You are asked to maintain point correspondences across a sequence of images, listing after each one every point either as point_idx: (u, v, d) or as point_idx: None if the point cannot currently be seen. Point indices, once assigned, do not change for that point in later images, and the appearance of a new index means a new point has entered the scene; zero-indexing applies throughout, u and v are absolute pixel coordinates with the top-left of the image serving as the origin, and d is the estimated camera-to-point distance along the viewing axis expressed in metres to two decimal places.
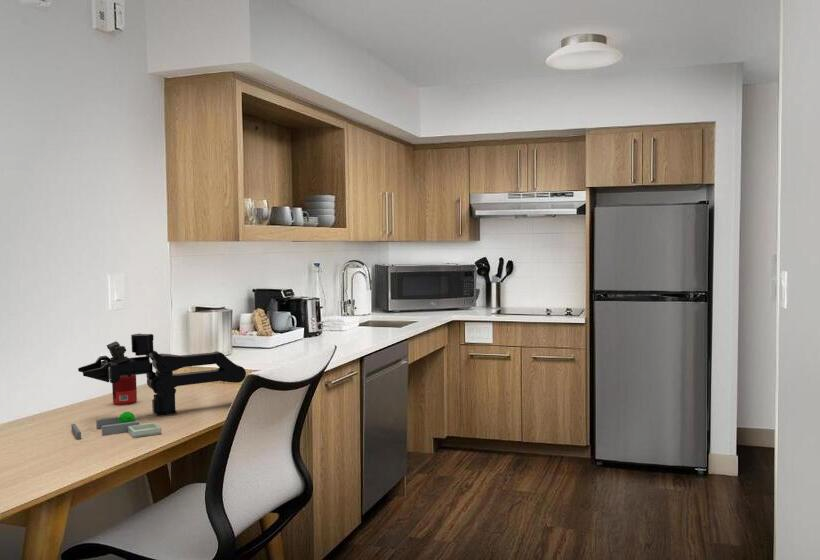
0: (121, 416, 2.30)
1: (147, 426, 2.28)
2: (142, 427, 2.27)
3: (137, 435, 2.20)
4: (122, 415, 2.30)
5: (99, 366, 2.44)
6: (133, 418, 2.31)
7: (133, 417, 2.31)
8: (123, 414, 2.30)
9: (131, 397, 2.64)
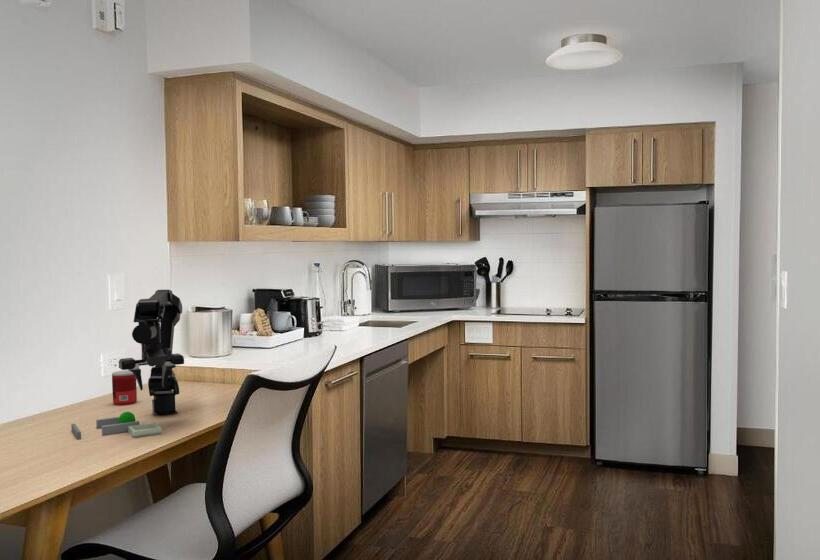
0: (121, 416, 2.30)
1: (147, 426, 2.28)
2: (142, 427, 2.27)
3: (137, 435, 2.20)
4: (122, 415, 2.30)
5: None
6: (133, 418, 2.31)
7: (133, 417, 2.31)
8: (123, 414, 2.30)
9: (131, 397, 2.64)
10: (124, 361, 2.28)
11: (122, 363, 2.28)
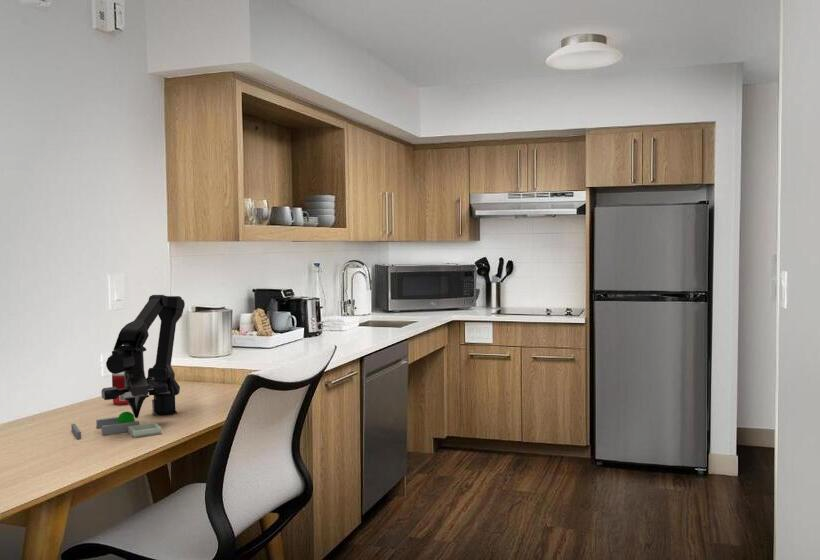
0: (120, 416, 2.30)
1: (147, 426, 2.28)
2: (142, 427, 2.27)
3: (137, 435, 2.20)
4: (121, 415, 2.30)
5: None
6: (132, 418, 2.31)
7: (132, 417, 2.31)
8: (122, 414, 2.30)
9: None
10: (107, 391, 2.26)
11: (105, 393, 2.25)
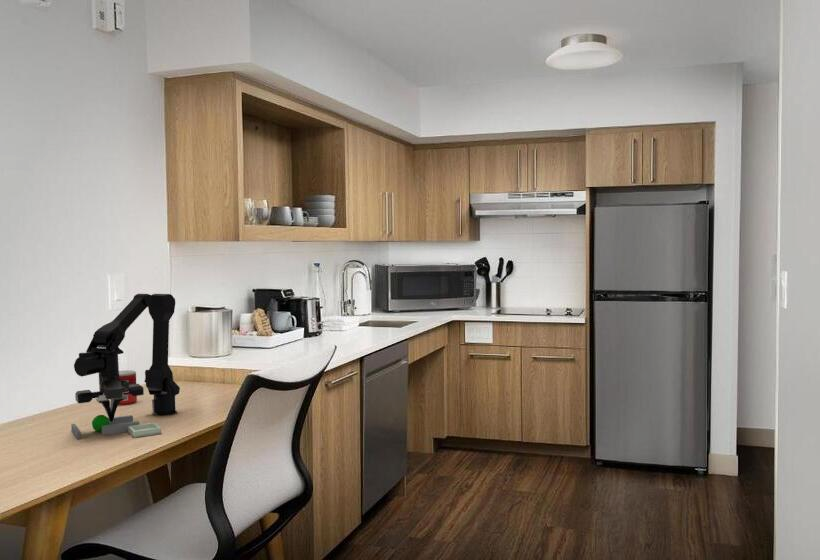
0: (94, 419, 2.26)
1: (147, 426, 2.28)
2: (142, 427, 2.27)
3: (137, 435, 2.20)
4: (96, 418, 2.26)
5: None
6: (107, 421, 2.27)
7: (107, 420, 2.27)
8: (97, 417, 2.26)
9: (131, 397, 2.64)
10: (80, 394, 2.22)
11: (78, 396, 2.21)
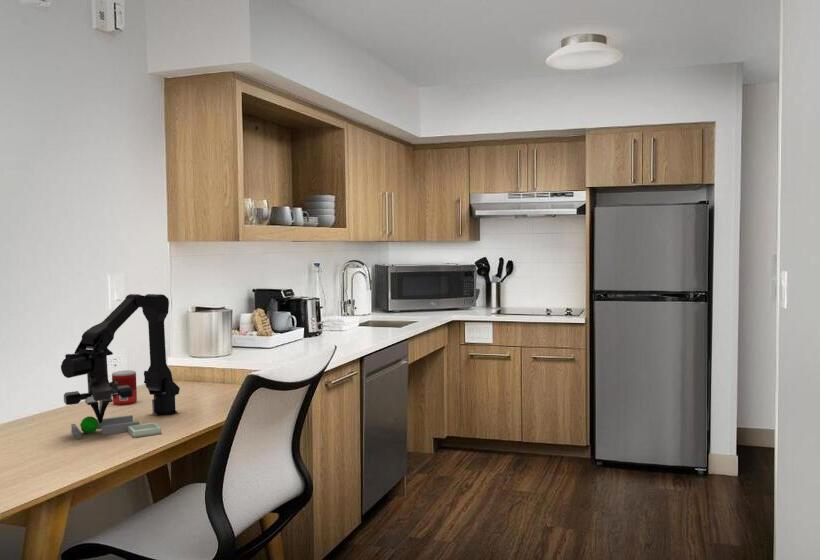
0: (83, 421, 2.24)
1: (147, 426, 2.28)
2: (142, 427, 2.27)
3: (137, 435, 2.20)
4: (84, 420, 2.24)
5: None
6: (96, 423, 2.25)
7: (96, 422, 2.25)
8: (85, 419, 2.25)
9: (131, 397, 2.64)
10: (68, 396, 2.20)
11: (66, 398, 2.20)
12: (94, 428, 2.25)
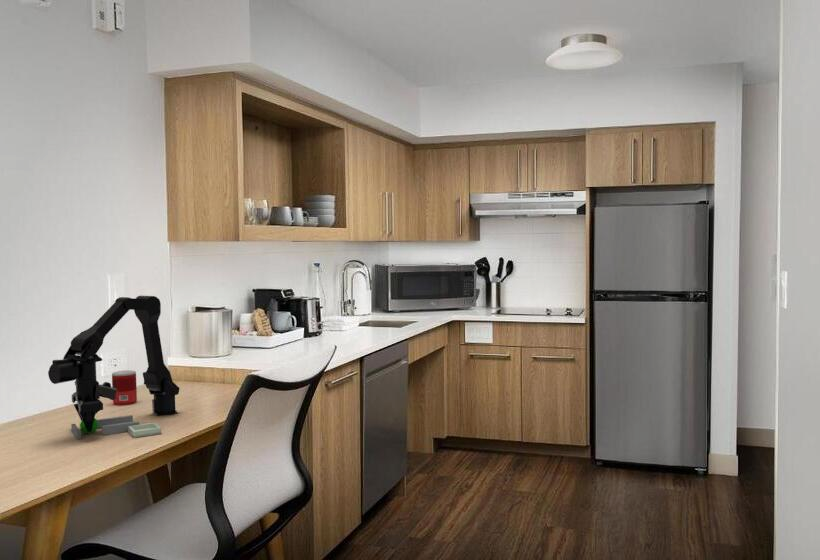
0: None
1: (147, 426, 2.28)
2: (142, 427, 2.27)
3: (137, 435, 2.20)
4: None
5: None
6: (95, 423, 2.25)
7: (95, 422, 2.25)
8: None
9: (131, 397, 2.64)
10: (100, 401, 2.19)
11: (100, 403, 2.19)
12: (94, 428, 2.25)
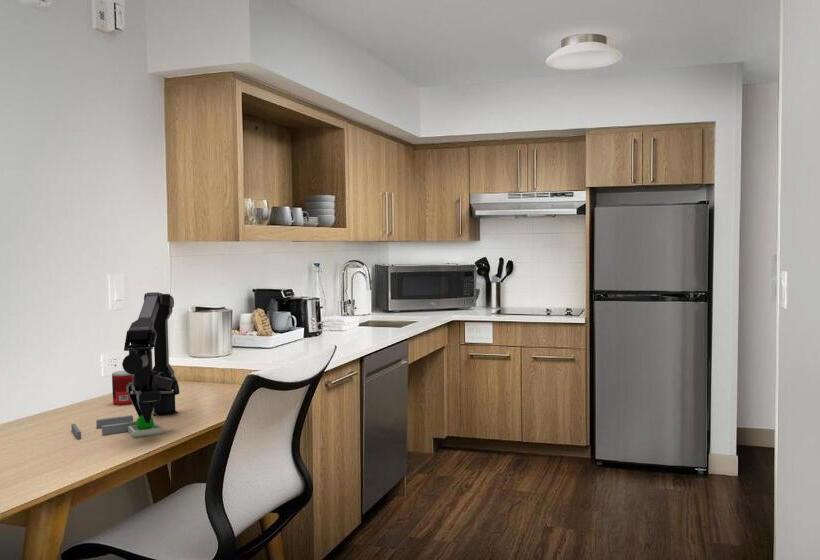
0: (139, 419, 2.23)
1: None
2: None
3: (137, 435, 2.20)
4: (140, 418, 2.23)
5: None
6: (151, 421, 2.24)
7: (151, 420, 2.24)
8: (141, 417, 2.24)
9: None
10: (158, 391, 2.18)
11: (159, 393, 2.17)
12: (150, 426, 2.24)
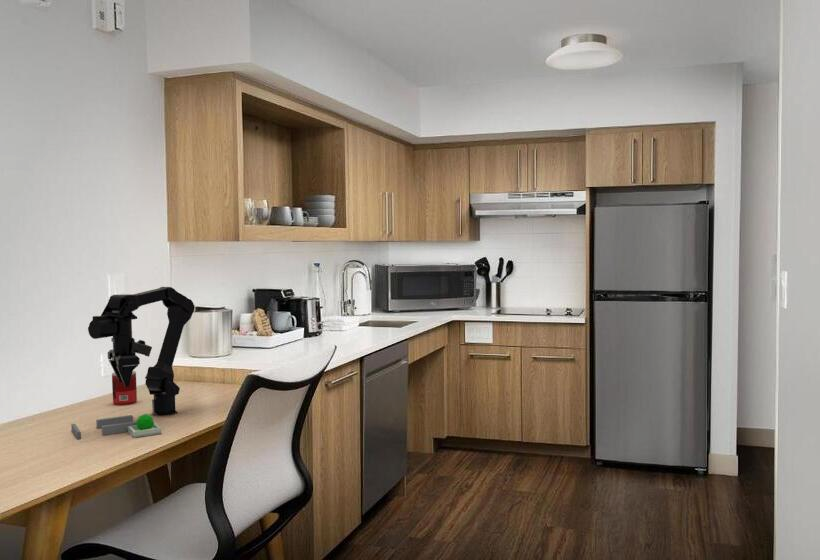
0: (139, 419, 2.23)
1: None
2: None
3: (137, 435, 2.20)
4: (140, 418, 2.23)
5: None
6: (151, 421, 2.24)
7: (151, 420, 2.24)
8: (141, 417, 2.24)
9: (131, 397, 2.64)
10: (136, 356, 2.29)
11: (137, 358, 2.28)
12: (150, 426, 2.24)
